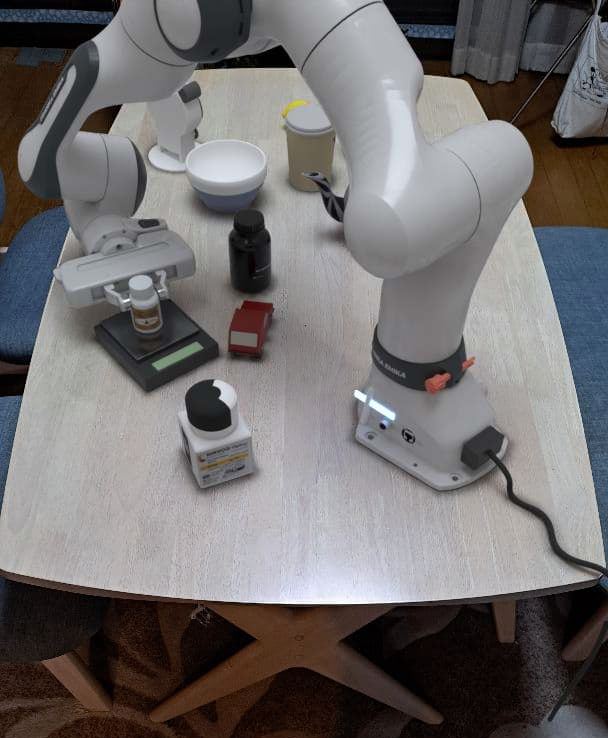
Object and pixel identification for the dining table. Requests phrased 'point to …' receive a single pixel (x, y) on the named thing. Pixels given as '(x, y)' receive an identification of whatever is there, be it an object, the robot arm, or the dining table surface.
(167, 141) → the white device on stand
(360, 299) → the dining table surface
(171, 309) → the scale
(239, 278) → the supplement bottle
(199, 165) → the bowl
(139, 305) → the pill bottle
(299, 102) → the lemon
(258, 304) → the toy truck
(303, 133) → the coffee cup
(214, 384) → the container
